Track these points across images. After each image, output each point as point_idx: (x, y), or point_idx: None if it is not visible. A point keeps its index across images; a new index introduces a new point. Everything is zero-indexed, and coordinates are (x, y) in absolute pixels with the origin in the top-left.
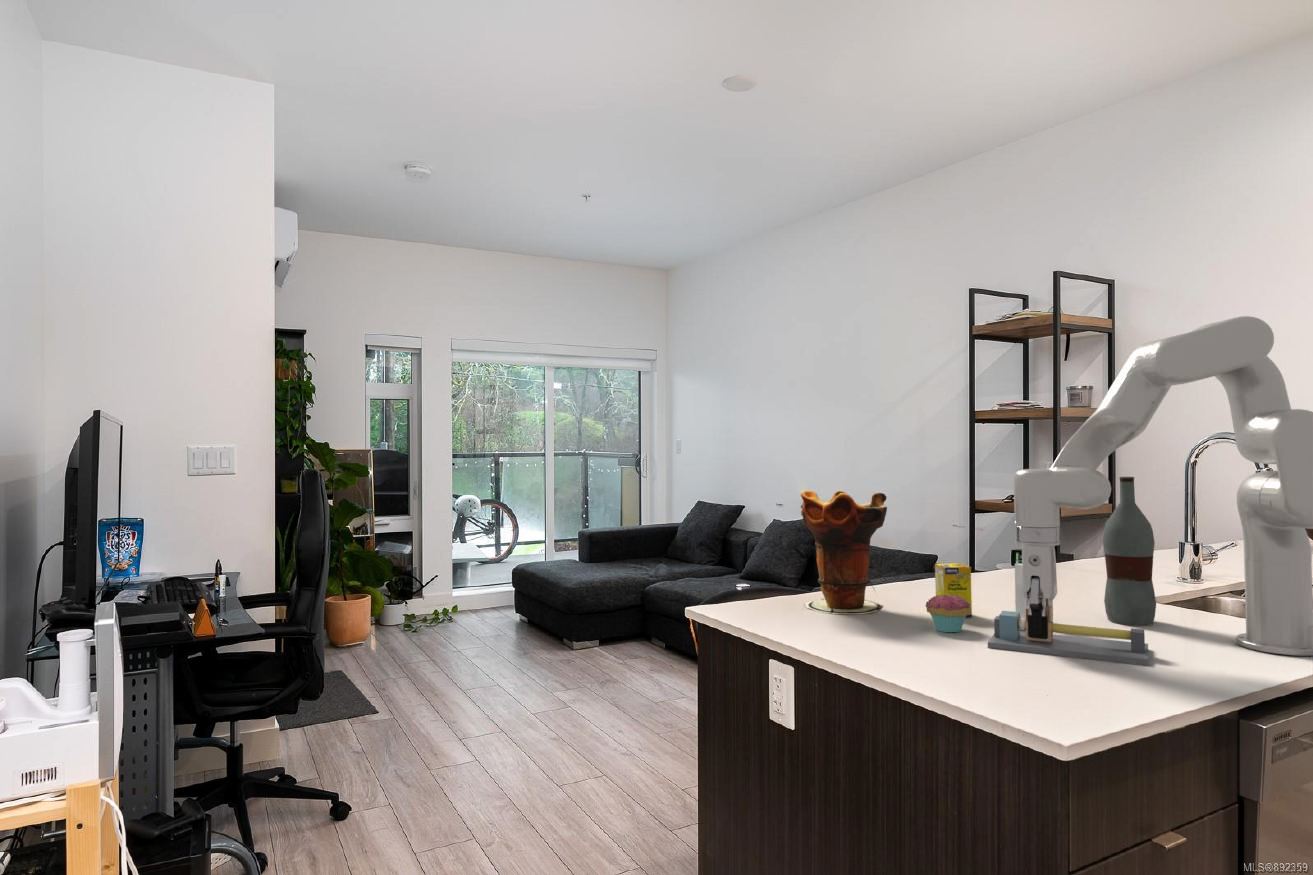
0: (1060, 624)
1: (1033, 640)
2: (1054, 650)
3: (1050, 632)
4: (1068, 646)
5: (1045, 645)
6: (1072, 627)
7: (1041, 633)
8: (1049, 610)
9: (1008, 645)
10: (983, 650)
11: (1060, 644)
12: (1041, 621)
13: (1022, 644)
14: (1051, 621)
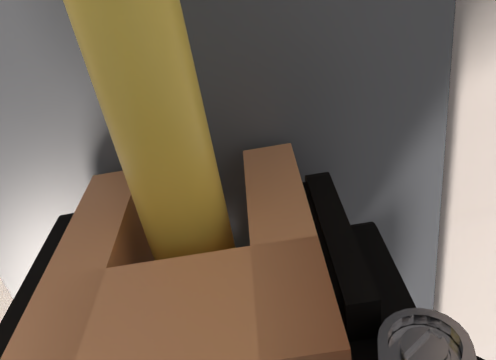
0: (168, 161)
1: (248, 243)
2: (446, 67)
3: (293, 181)
4: (290, 3)
5: (354, 151)
6: (165, 24)
7: (372, 223)
8: (327, 358)
9: (431, 303)
10: (478, 351)
11: (254, 76)
12: (409, 298)
13: (398, 259)
14: (113, 256)
